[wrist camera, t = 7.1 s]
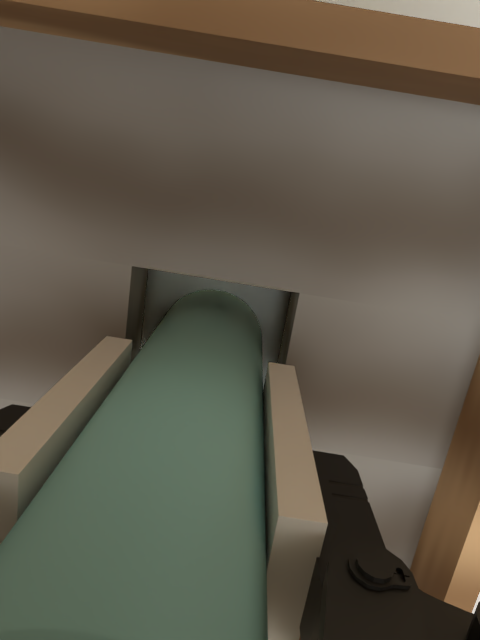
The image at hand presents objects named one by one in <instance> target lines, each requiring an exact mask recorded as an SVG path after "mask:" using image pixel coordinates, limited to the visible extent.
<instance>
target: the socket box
mask: <svg viewBox="0 0 480 640" xmlns="http://www.w3.org/2000/svg"><path fill="white" fill-rule="evenodd" d="M148 269H153V270H159V271H166V272H172V273H178V274H184V275H190V276H196V277H203V278H209V279H215V280H221V281H227V282H234V283H240V284H246V285H252V286H258V287H264V288H271V289H277V290H283V291H289V292H291V296H290V302H289V307H288V312H287V317H286V322H285V327H284V333H283V338H282V343H281V348H280V353H279V359H278V364H284V365H291V366H295V371H296V376H297V380H298V385H299V390H300V395H301V399H302V404H303V409H304V413H305V418H306V423H307V427H308V432H309V437H310V442H311V446H312V450H314V451H320V452H326V453H332V454H339V455H344V456H345V457H346V458H347V459H348V460H349V461H350V462H351V463H352V465H353V466H354V467H355V468H356V469H357V470H358V472H359V475H360V478H361V481H362V483H363V489H365V492H366V495H367V497H368V502H369V503H370V506H371V508H372V511H373V514H374V517H375V519H376V522H377V525H378V528H379V531H380V533H381V536H382V539H383V542H384V544H385V547H386V549H387V550H389V551H390V552H391V553H393V554H394V555H395V556H397V557H398V558H400V559H401V560H402V561H403V562H404V563H405V565H406V566H407V567H408V568H409V569H410V571H411V572H412V573H413V576H414V578H415V581H416V583H417V586H418V588H419V589H420V590H422V591H423V592H425V593H427V594H429V595H431V596H433V597H435V598H437V599H439V600H441V601H444V602H446V603H448V604H451V605H453V606H456V607H458V608H460V609H463V610H465V611H468V612H470V613H472V610H473V607H474V605H475V602H476V600H477V597H478V594H479V592H480V28H476V27H470V26H464V25H458V24H452V23H446V22H440V21H434V20H427V19H421V18H415V17H409V16H403V15H397V14H391V13H385V12H379V11H373V10H367V9H361V8H355V7H349V6H343V5H337V4H331V3H325V2H319V1H313V0H0V409H2V408H4V407H7V406H9V405H11V404H15V405H21V406H27V407H32V406H33V405H34V404H35V403H36V402H38V401H39V400H40V399H41V398H42V397H43V396H44V395H45V394H46V393H47V392H48V391H49V390H50V389H51V388H52V387H53V386H54V385H55V384H57V383H58V382H59V381H60V380H61V379H62V378H63V377H64V376H65V375H66V374H67V373H68V372H69V371H70V370H71V369H72V368H73V367H74V366H76V365H77V364H78V363H79V362H80V361H81V360H82V359H83V358H84V357H85V356H86V355H87V354H88V353H89V352H90V351H91V350H92V349H93V348H95V347H96V346H97V345H98V344H99V343H100V342H101V341H102V340H103V339H104V338H105V337H106V336H110V337H116V338H122V339H129V340H133V341H132V351H131V361H130V364H131V362H132V361H133V360H134V358H135V357H136V355H137V354H138V353H139V351H140V344H141V334H142V324H143V314H144V304H145V295H146V285H147V275H148ZM299 640H301V638H299Z"/></svg>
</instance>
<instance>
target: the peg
mask: <svg viewBox="0 0 480 640" xmlns="http://www.w3.org/2000/svg"><path fill="white" fill-rule="evenodd" d="M0 640H268V616H267V568H266V519H265V469H264V420H263V370H262V333H261V328H260V325H259V322H258V320H257V317H256V316H255V314H254V312H253V311H252V310H251V309H250V307H249V306H248V305H247V304H246V303H245V302H243V301H242V300H241V299H239V298H238V297H236V296H234V295H232V294H230V293H227V292H224V291H219V290H201V291H196V292H193V293H190V294H188V295H186V296H184V297H183V298H181V299H180V300H178V301H177V302H176V303H175V304H174V305H173V306H172V307H171V308H170V310H169V311H168V312H167V314H166V315H165V317H164V318H163V319H162V321H161V322H160V324H159V325H158V326H157V328H156V329H155V331H154V332H153V333H152V335H151V336H150V337H149V339H148V340H147V342H146V343H145V344H144V346H143V347H142V349H141V350H140V351H139V353H138V354H137V355H136V357H135V358H134V360H133V361H132V362H131V364H130V365H129V367H128V368H127V369H126V371H125V372H124V374H123V375H122V376H121V378H120V379H119V380H118V382H117V383H116V385H115V386H114V387H113V389H112V390H111V392H110V393H109V394H108V396H107V397H106V398H105V400H104V401H103V403H102V404H101V405H100V407H99V408H98V410H97V411H96V412H95V414H94V415H93V416H92V418H91V419H90V421H89V422H88V423H87V425H86V426H85V428H84V429H83V430H82V432H81V433H80V435H79V436H78V437H77V439H76V440H75V441H74V443H73V444H72V446H71V447H70V448H69V450H68V451H67V453H66V454H65V455H64V457H63V458H62V459H61V461H60V462H59V464H58V465H57V466H56V468H55V469H54V471H53V472H52V473H51V475H50V476H49V477H48V479H47V480H46V482H45V483H44V484H43V486H42V487H41V489H40V490H39V491H38V493H37V494H36V496H35V497H34V498H33V500H32V501H31V502H30V504H29V505H28V507H27V508H26V509H25V511H24V512H23V514H22V515H21V516H20V518H19V519H18V520H17V522H16V523H15V525H14V526H13V527H12V529H11V530H10V532H9V533H8V534H7V536H6V537H5V538H4V540H3V541H2V543H1V544H0Z"/></svg>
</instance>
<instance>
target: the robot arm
mask: <svg viewBox="0 0 480 640" xmlns="http://www.w3.org/2000/svg"><path fill="white" fill-rule="evenodd" d="M132 341H133V340H129V339H122V338H116V337H110V336H106V337H105V338H104V339H103V340H102V341H101V342H100V343H99V344H98V345H97V346H96V347H95V348H93V349H92V350H91V351H90V352H89V353H88V354H87V355H86V356H85V357H84V358H83V359H82V360H81V361H80V362H79V363H78V364H77V365H76V366H74V367H73V368H72V369H71V370H70V371H69V372H68V373H67V374H66V375H65V376H64V377H63V378H62V379H61V380H60V381H59V382H58V383H57V384H55V385H54V386H53V387H52V388H51V389H50V390H49V391H48V392H47V393H46V394H45V395H44V396H43V397H42V398H41V399H40V400H39V401H38V402H36V403H35V404H34V405H33V406H32V407H27V406H21V405H15V404H11V405H9V406H7V407H4V408H2V409H0V544H1V543H2V541H3V540H4V538H5V537H6V536H7V534H8V533H9V532H10V530H11V529H12V527H13V526H14V525H15V523H16V522H17V520H18V519H19V518H20V516H21V515H22V514H23V512H24V511H25V509H26V508H27V507H28V505H29V504H30V502H31V501H32V500H33V498H34V497H35V496H36V494H37V493H38V491H39V490H40V489H41V487H42V486H43V484H44V483H45V482H46V480H47V479H48V477H49V476H50V475H51V473H52V472H53V471H54V469H55V468H56V466H57V465H58V464H59V462H60V461H61V459H62V458H63V457H64V455H65V454H66V453H67V451H68V450H69V448H70V447H71V446H72V444H73V443H74V441H75V440H76V439H77V437H78V436H79V435H80V433H81V432H82V430H83V429H84V428H85V426H86V425H87V423H88V422H89V421H90V419H91V418H92V416H93V415H94V414H95V412H96V411H97V410H98V408H99V407H100V405H101V404H102V403H103V401H104V400H105V398H106V397H107V396H108V394H109V393H110V392H111V390H112V389H113V387H114V386H115V385H116V383H117V382H118V380H119V379H120V378H121V376H122V375H123V374H124V372H125V371H126V369H127V368H128V367H129V365H130V361H131V351H132ZM263 420H264V469H265V519H266V568H267V616H268V640H299V638H301V640H480V602H479V603H478V605H477V608H476V611H475V613H474V614H472V613H470V612H468V611H465V610H463V609H460V608H458V607H456V606H453V605H451V604H448V603H446V602H444V601H441V600H439V599H437V598H435V597H433V596H431V595H429V594H427V593H425V592H423V591H422V590H420V589H419V588H418V586H417V583H416V581H415V578H414V576H413V573H412V572H411V571H410V569H409V568H408V567H407V566H406V565H405V563H404V562H403V561H402V560H401V559H400V558H398V557H397V556H395V555H394V554H393V553H391V552H390V551H389V550H387V549H386V547H385V544H384V542H383V539H382V536H381V533H380V531H379V528H378V525H377V522H376V519H375V517H374V514H373V511H372V508H371V506H370V503H369V502H368V497H367V495H366V492H365V489H363V483H362V481H361V478H360V475H359V472H358V470H357V469H356V468H355V467H354V466H353V465H352V463H351V462H350V461H349V460H348V459H347V458H346V457H345V456H344V455H339V454H332V453H326V452H320V451H314V450H312V446H311V442H310V437H309V432H308V427H307V423H306V418H305V413H304V409H303V404H302V399H301V395H300V390H299V385H298V380H297V376H296V371H295V366H291V365H284V364H278V363H272V362H269V363H268V368H267V374H266V379H265V384H264V390H263Z"/></svg>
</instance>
